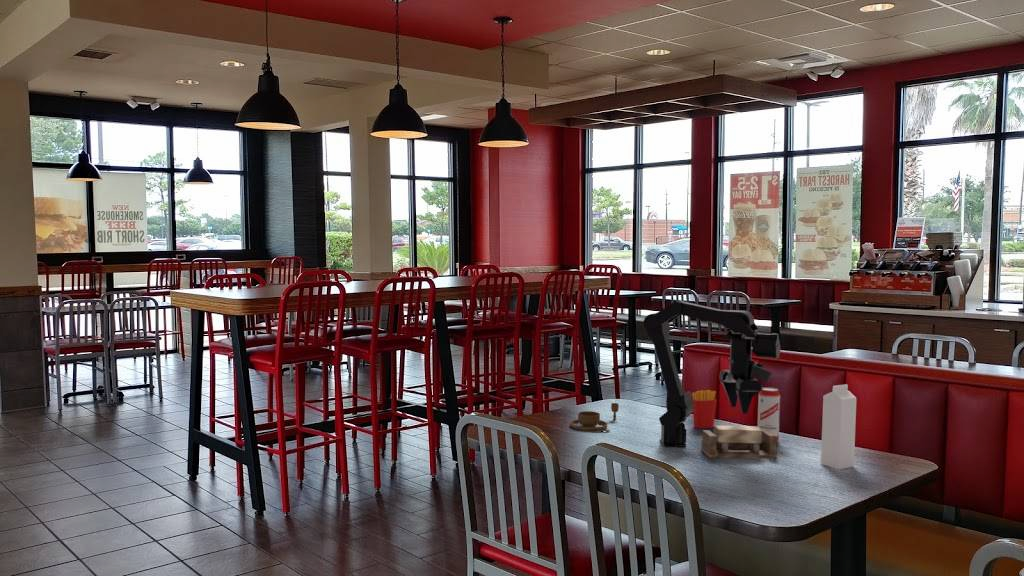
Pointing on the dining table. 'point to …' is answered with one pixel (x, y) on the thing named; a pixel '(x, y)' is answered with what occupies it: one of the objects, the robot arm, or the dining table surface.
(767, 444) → the frame
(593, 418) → the place setting
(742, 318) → the robot arm
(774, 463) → the dining table surface
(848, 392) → the milk
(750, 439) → the board
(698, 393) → the french fries
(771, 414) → the beer can
